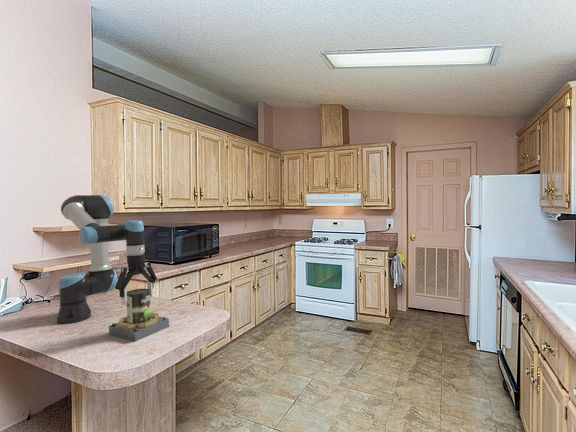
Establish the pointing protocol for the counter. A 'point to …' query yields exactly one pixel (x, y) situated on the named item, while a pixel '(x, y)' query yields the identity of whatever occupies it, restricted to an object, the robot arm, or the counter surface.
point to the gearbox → (138, 327)
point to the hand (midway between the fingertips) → (137, 300)
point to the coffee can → (138, 306)
